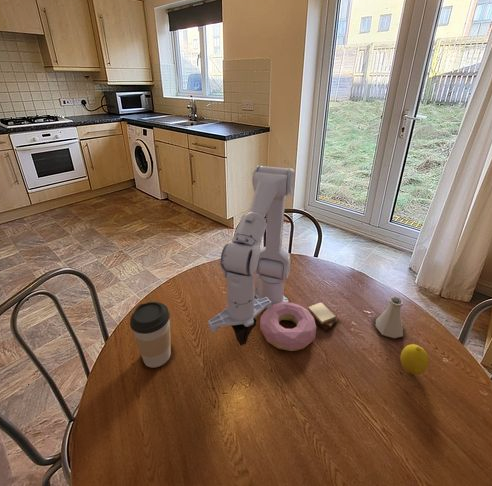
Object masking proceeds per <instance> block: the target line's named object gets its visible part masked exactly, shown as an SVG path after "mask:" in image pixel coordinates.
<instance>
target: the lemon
mask: <svg viewBox="0 0 492 486" xmlns="http://www.w3.org/2000/svg"><path fill="white" fill-rule="evenodd" d="M400 363H401V366H402V368H403V370H405V371H406V372H408V373H409V374H411V375H415V376H416V375H417V376H418V375H422V374H423V373H425V372H426V371H427V369H428V366H429V356H428V353H427V351H426V350H425V349H424V348H423V347H422V346H420V345H418V344H414V343H412V344H408V345H406V346H405V347H404V348H403V349H402V350H401V353H400Z"/></svg>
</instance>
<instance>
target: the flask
mask: <svg viewBox="0 0 492 486" xmlns="http://www.w3.org/2000/svg"><path fill="white" fill-rule="evenodd" d="M403 301H404V300H402V299H401V298H400V297H397V296H391V297H390V296H389V305H387V308H386V309H385V310H384V311H383V312H382V313H381V314H380V315H379V316H377V318H376V319H375V328H376V329H377V331H379V333H380V334H381V335H382V336H384V337H388V338H392V339H397V338H402V337H404V327H403V323H402V318H401V307H402V306H404V302H403Z"/></svg>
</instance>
